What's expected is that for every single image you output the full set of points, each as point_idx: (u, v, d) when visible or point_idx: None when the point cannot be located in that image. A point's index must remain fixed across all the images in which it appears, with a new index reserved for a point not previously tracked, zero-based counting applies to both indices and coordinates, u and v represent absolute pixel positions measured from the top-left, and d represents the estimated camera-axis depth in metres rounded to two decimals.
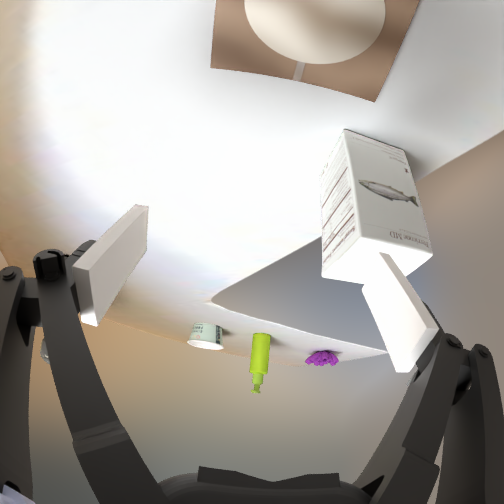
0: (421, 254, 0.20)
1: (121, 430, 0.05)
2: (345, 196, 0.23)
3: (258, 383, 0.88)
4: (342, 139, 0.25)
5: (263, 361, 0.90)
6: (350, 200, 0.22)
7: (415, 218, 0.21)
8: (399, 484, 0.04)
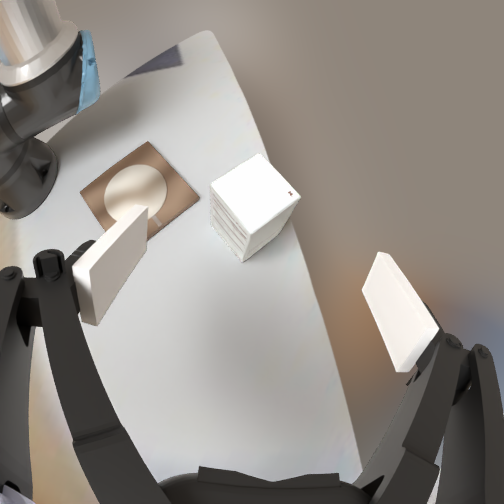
0: (253, 159, 0.32)
1: (121, 430, 0.05)
2: (217, 213, 0.35)
3: None
4: (212, 225, 0.41)
5: None
6: (214, 205, 0.34)
7: None
8: (399, 484, 0.04)
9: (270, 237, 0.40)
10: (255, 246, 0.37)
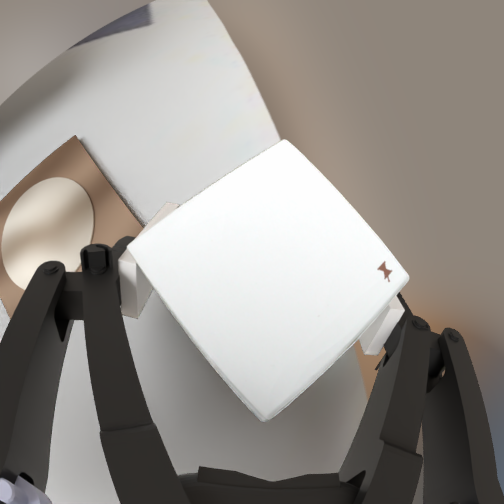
0: (269, 156, 0.10)
1: (152, 426, 0.05)
2: None
3: None
4: None
5: None
6: None
7: None
8: (382, 479, 0.04)
9: None
10: None
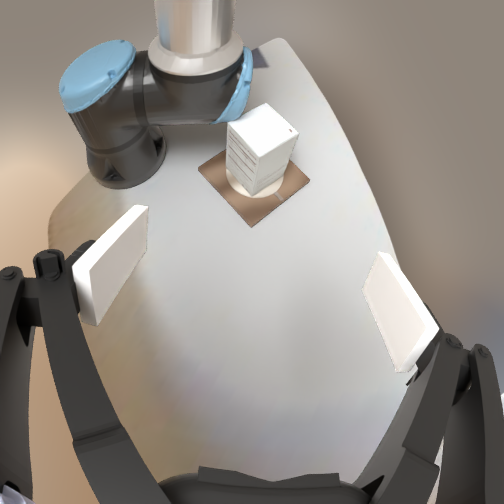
0: (261, 106, 0.39)
1: (121, 430, 0.05)
2: (232, 149, 0.42)
3: None
4: (227, 166, 0.48)
5: None
6: (230, 143, 0.41)
7: None
8: (399, 484, 0.04)
9: (275, 174, 0.46)
10: (263, 178, 0.44)
